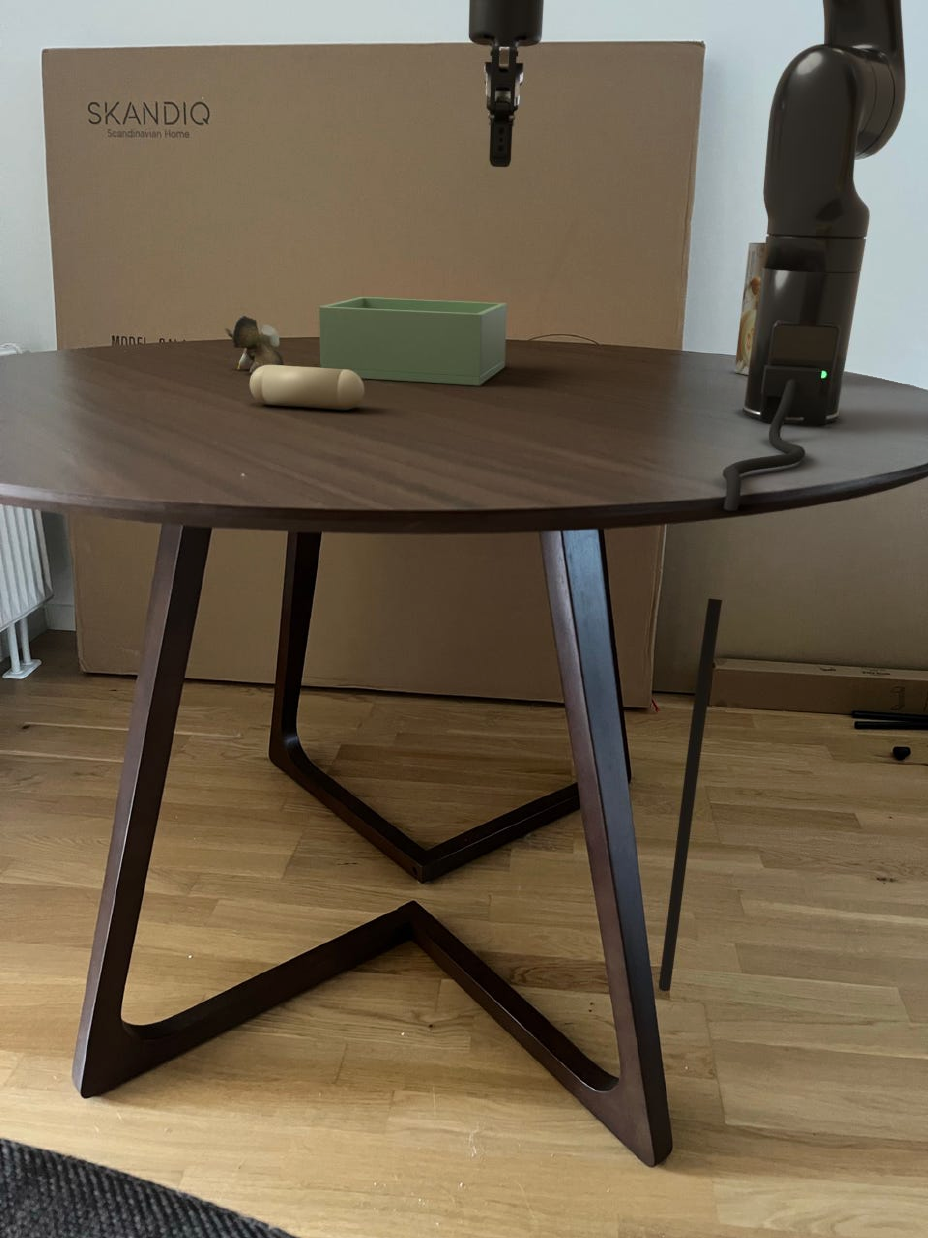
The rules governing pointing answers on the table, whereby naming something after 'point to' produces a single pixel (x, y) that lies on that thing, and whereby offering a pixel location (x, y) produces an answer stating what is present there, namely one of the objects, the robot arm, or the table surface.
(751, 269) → the coffee box
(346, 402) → the beige capsule
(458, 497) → the table surface
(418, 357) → the bin
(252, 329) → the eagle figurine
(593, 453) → the table surface
